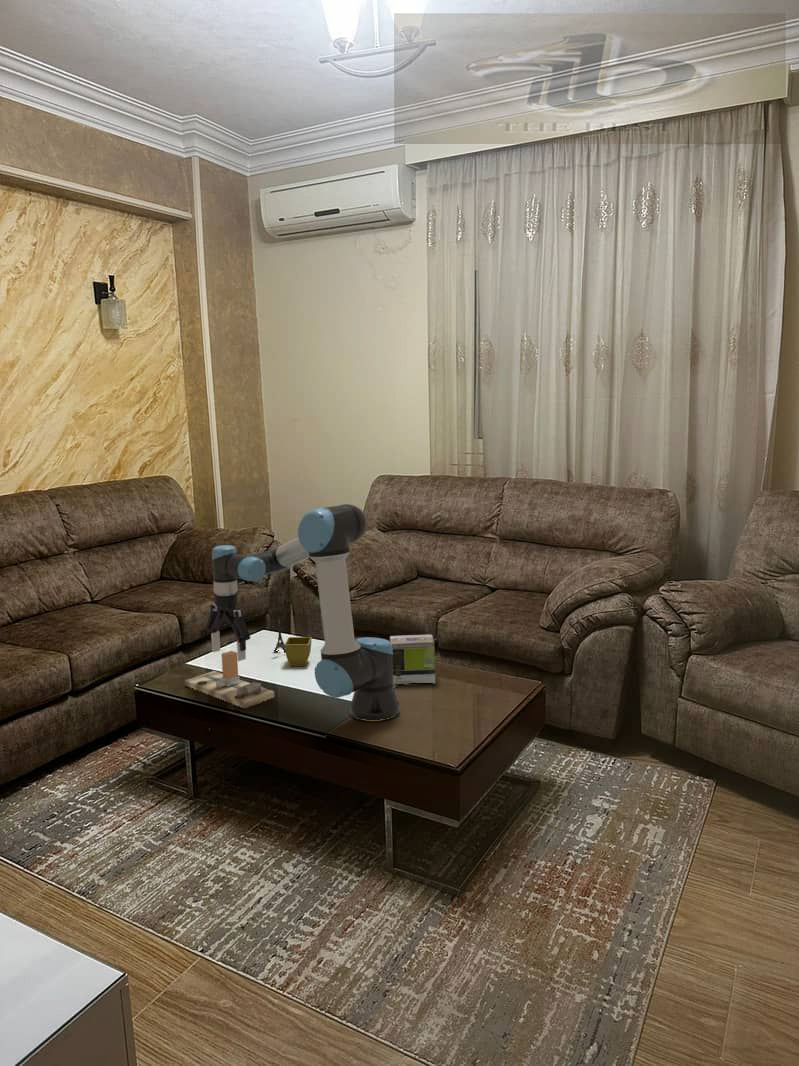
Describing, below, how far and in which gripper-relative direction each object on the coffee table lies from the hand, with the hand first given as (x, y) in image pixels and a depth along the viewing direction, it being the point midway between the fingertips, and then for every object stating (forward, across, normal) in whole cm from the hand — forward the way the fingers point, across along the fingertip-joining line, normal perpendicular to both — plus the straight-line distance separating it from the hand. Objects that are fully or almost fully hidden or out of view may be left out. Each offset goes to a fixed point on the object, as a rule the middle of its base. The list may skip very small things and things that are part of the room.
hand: (228, 655), depth 255 cm
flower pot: (+12, +2, -32) cm, 34 cm away
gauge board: (+12, 0, +1) cm, 12 cm away
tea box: (+12, -42, -45) cm, 62 cm away
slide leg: (+10, 0, +2) cm, 10 cm away
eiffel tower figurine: (+13, +18, -38) cm, 44 cm away
